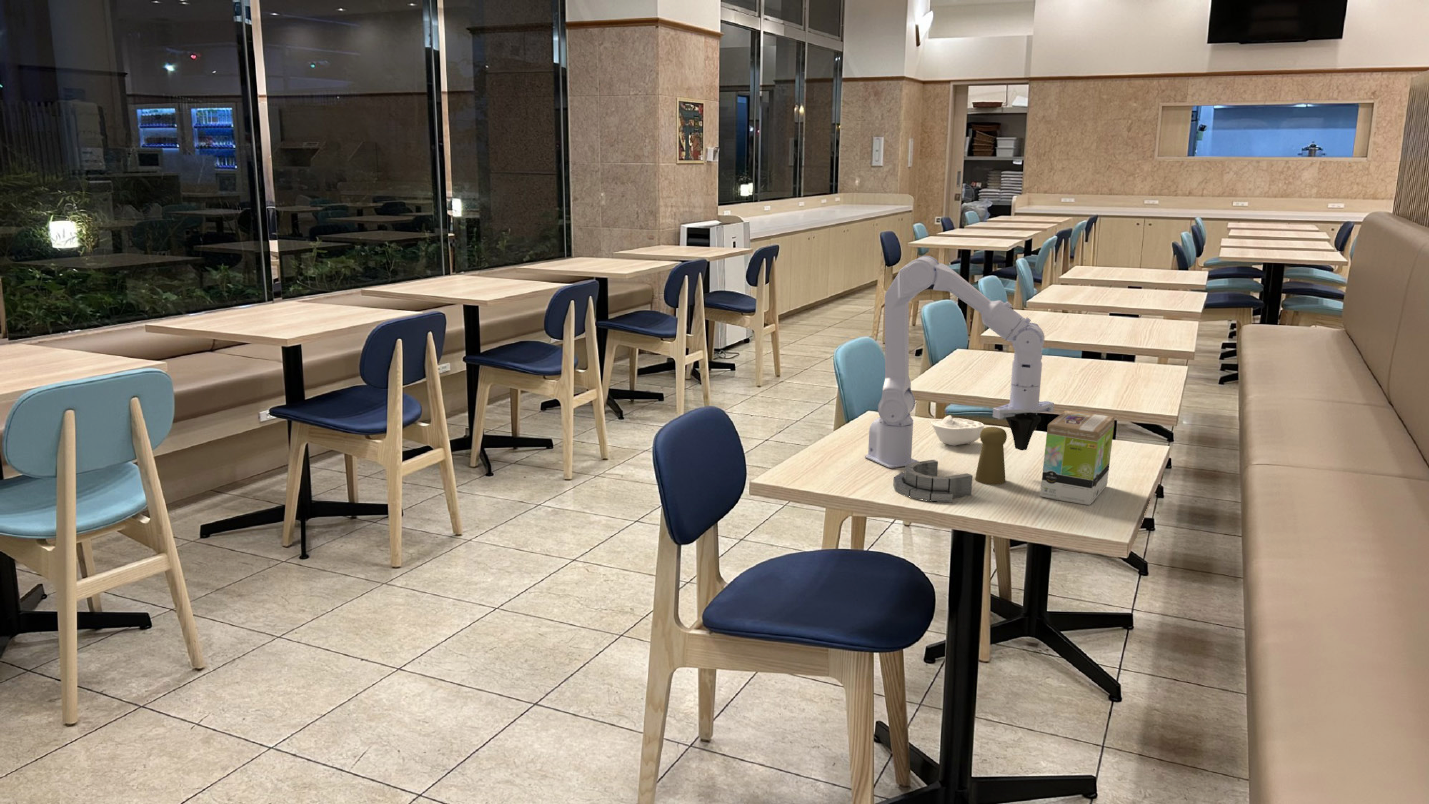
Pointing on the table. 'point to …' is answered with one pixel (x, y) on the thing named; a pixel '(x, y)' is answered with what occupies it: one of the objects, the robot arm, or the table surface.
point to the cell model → (957, 430)
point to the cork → (991, 457)
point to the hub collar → (931, 483)
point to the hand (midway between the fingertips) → (1020, 449)
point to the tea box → (1077, 457)
